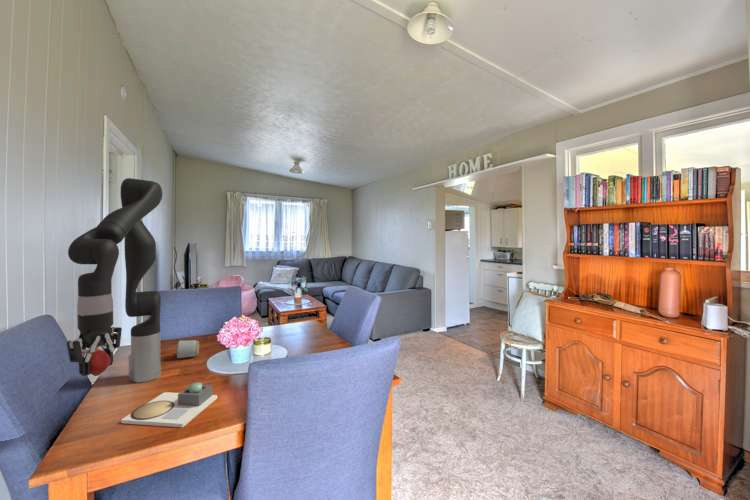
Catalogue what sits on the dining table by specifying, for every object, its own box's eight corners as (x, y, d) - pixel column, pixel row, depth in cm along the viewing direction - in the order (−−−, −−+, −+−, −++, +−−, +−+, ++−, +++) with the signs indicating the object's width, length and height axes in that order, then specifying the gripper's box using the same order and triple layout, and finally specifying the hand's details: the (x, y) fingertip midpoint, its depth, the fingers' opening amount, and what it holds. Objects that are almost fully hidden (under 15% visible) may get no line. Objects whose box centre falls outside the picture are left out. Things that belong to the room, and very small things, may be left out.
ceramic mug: (198, 358, 144) (197, 341, 144) (176, 361, 140) (176, 343, 140) (200, 351, 154) (200, 335, 153) (180, 353, 150) (180, 337, 150)
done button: (186, 396, 103) (186, 387, 103) (193, 390, 107) (193, 382, 107) (197, 396, 103) (197, 388, 102) (204, 391, 106) (204, 382, 106)
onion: (94, 371, 93) (93, 344, 92) (115, 371, 93) (115, 343, 93) (77, 380, 87) (76, 351, 87) (100, 380, 87) (99, 351, 87)
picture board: (119, 423, 93) (119, 419, 93) (163, 394, 110) (163, 391, 110) (182, 427, 91) (182, 423, 91) (217, 398, 108) (217, 394, 108)
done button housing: (178, 405, 102) (177, 394, 101) (192, 394, 108) (192, 384, 108) (198, 406, 101) (198, 395, 101) (212, 395, 108) (212, 385, 108)
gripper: (107, 304, 97) (108, 359, 98) (55, 316, 82) (57, 380, 83) (130, 305, 96) (131, 361, 97) (82, 317, 82) (83, 382, 82)
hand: (96, 369), depth 90 cm, fingers closed on onion, 6 cm apart
